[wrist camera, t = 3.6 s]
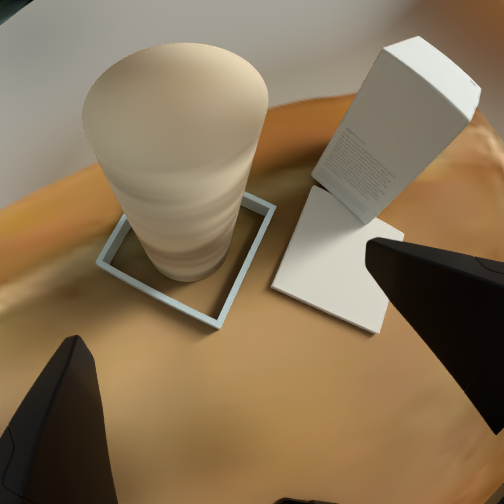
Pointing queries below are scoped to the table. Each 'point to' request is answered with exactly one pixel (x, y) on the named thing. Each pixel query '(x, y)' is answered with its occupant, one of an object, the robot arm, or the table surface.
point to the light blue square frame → (104, 264)
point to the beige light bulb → (178, 148)
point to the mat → (334, 262)
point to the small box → (396, 126)
